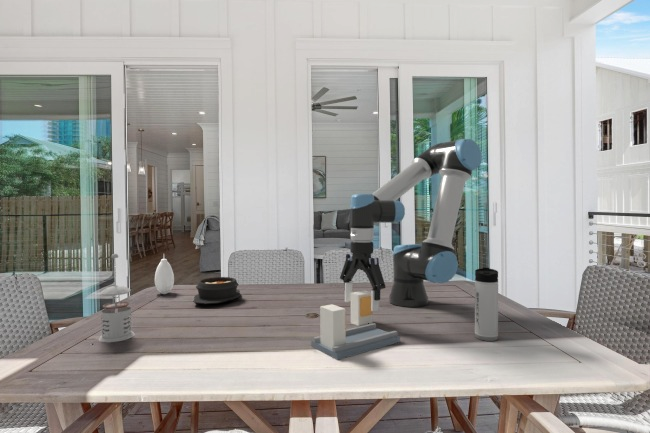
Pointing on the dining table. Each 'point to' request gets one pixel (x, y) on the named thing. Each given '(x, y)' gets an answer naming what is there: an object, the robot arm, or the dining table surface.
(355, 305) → the white block orange panel
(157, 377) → the dining table surface
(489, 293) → the travel mug
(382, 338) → the rail
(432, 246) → the robot arm
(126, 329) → the french press
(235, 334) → the dining table surface
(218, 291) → the casserole
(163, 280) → the bulb air blower
